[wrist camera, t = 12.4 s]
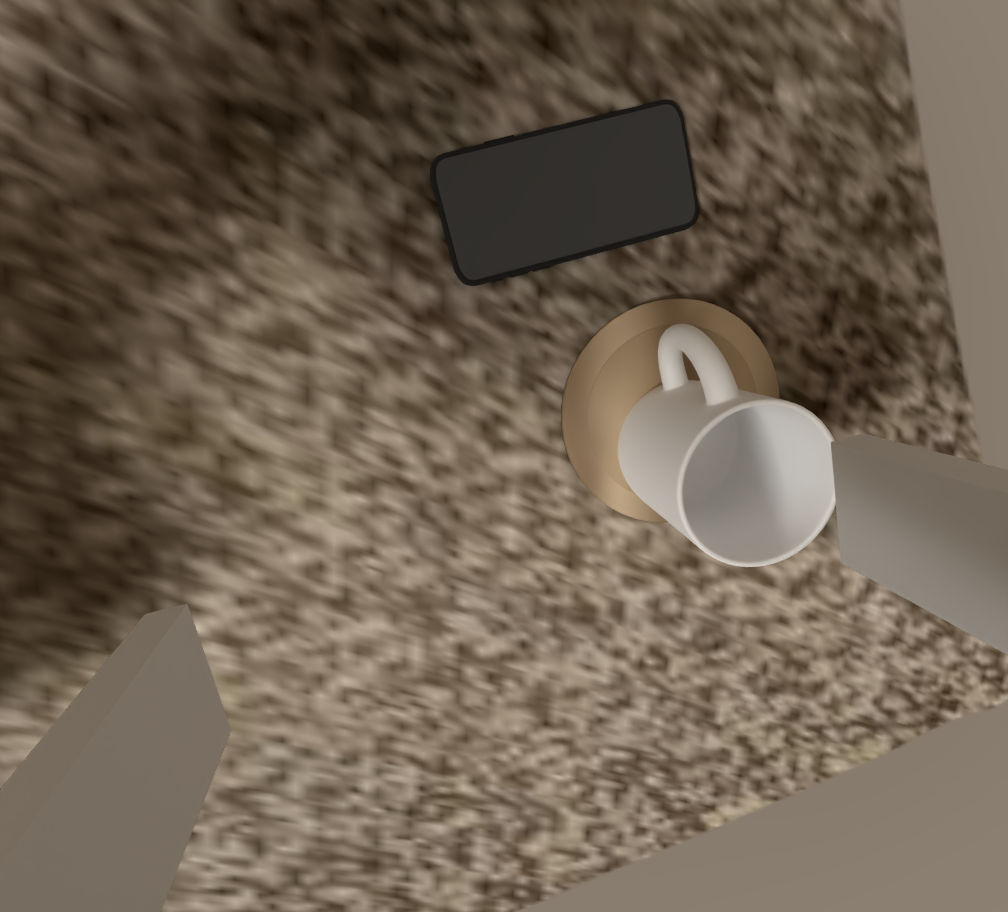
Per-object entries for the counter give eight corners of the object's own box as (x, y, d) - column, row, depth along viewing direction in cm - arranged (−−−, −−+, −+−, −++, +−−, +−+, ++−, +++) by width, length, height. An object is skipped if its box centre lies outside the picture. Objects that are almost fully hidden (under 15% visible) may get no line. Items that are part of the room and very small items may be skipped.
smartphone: (704, 225, 39) (460, 290, 38) (697, 227, 40) (459, 291, 39) (680, 92, 37) (424, 155, 36) (674, 97, 38) (423, 159, 37)
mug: (581, 343, 39) (638, 354, 29) (710, 300, 40) (809, 296, 30) (633, 525, 42) (700, 591, 32) (752, 482, 43) (856, 534, 33)
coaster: (582, 542, 43) (585, 545, 42) (541, 326, 39) (543, 326, 39) (785, 491, 44) (791, 494, 43) (761, 277, 41) (767, 276, 40)
